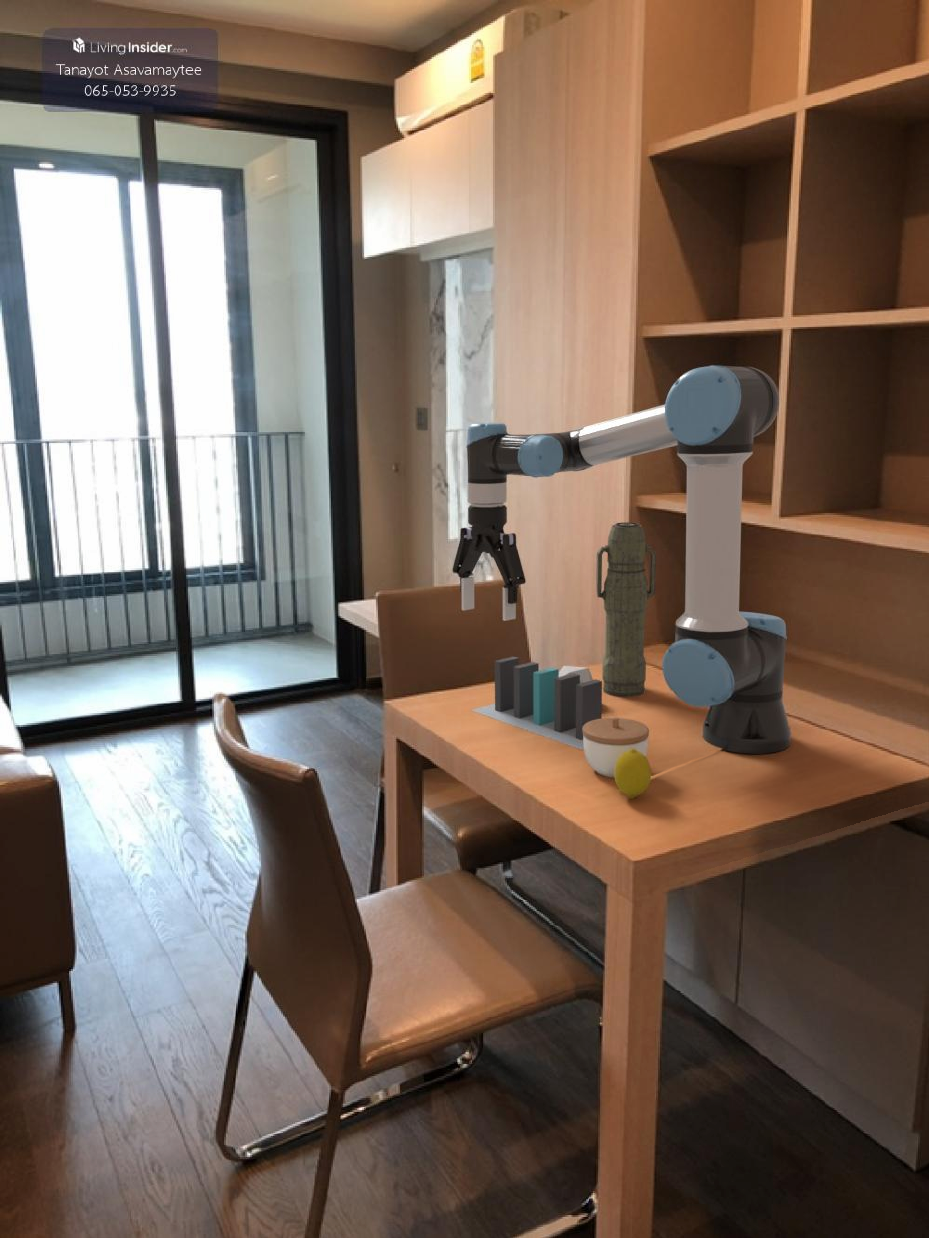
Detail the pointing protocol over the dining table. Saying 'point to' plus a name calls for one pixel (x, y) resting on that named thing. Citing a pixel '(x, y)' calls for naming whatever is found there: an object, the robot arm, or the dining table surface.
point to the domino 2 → (524, 689)
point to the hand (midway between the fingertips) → (488, 614)
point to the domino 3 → (565, 702)
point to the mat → (532, 726)
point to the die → (577, 672)
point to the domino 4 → (588, 704)
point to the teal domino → (544, 695)
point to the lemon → (632, 773)
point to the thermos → (625, 608)
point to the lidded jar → (612, 741)
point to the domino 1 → (505, 683)
